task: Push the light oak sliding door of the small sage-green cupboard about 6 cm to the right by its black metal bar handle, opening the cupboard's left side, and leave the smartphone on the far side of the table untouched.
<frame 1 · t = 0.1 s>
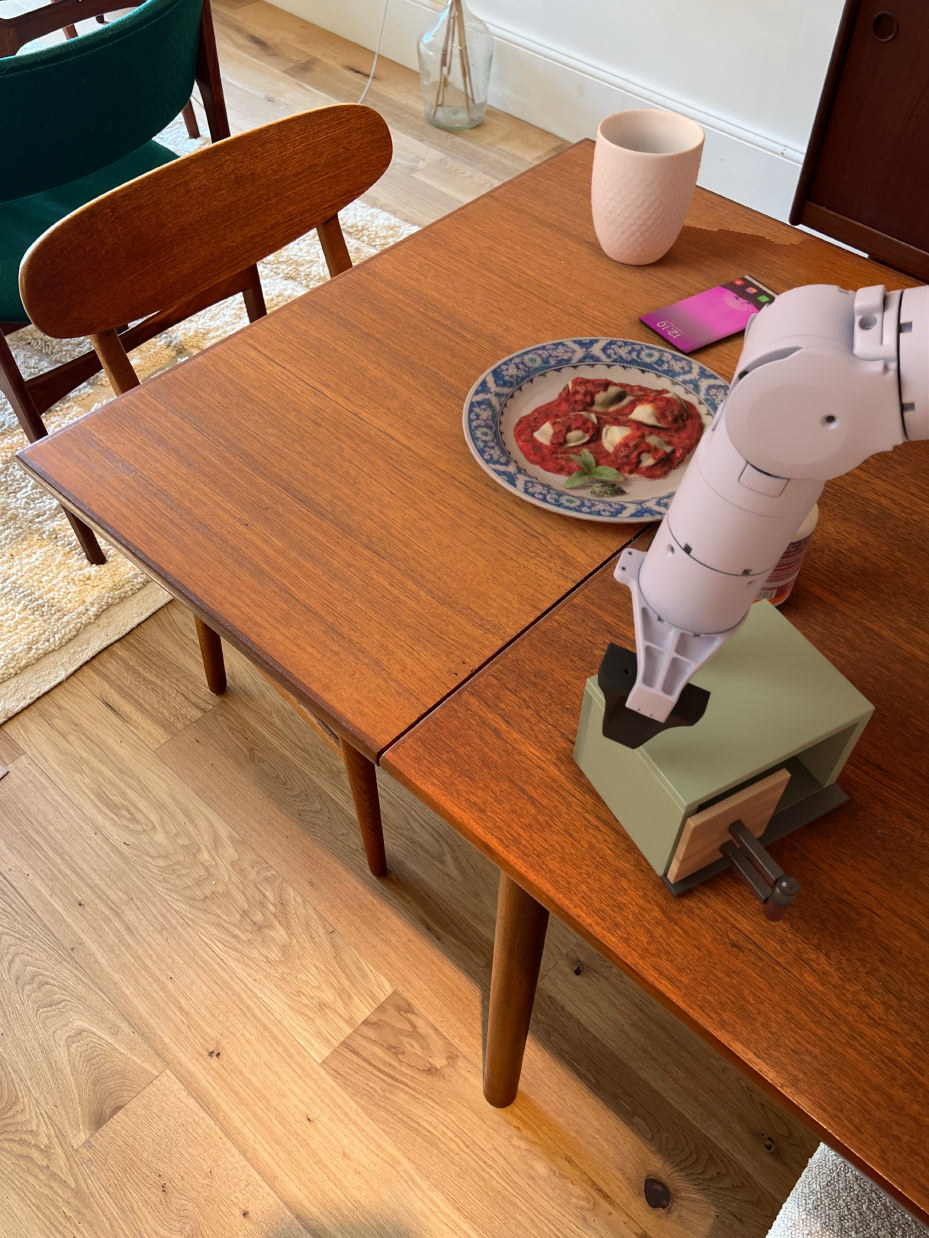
hand: (638, 687, 58), 10 cm above the table, tool pointing down, fingers open, 7 cm apart
cupboard: (701, 771, 66), on the table
ceramic plate: (605, 441, 89), on the table
pill bottle: (749, 585, 78), on the table
smartphone: (715, 319, 102), on the table
mug: (632, 247, 112), on the table
sliding door: (755, 862, 57), point 4 cm above the table, slide at 0.0 cm
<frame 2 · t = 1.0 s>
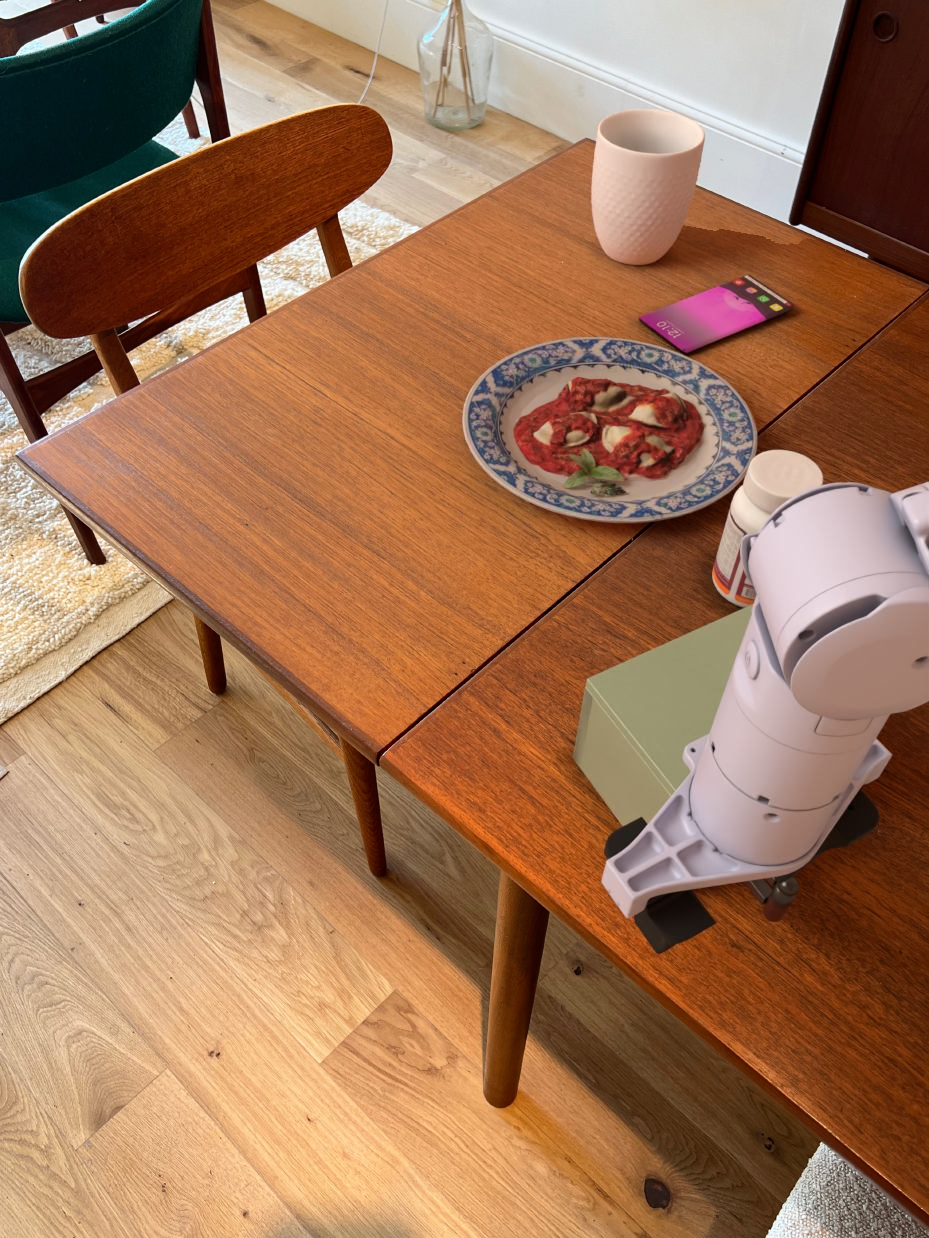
hand: (712, 898, 50), 9 cm above the table, tool pointing down, fingers open, 7 cm apart
nothing on the table moved.
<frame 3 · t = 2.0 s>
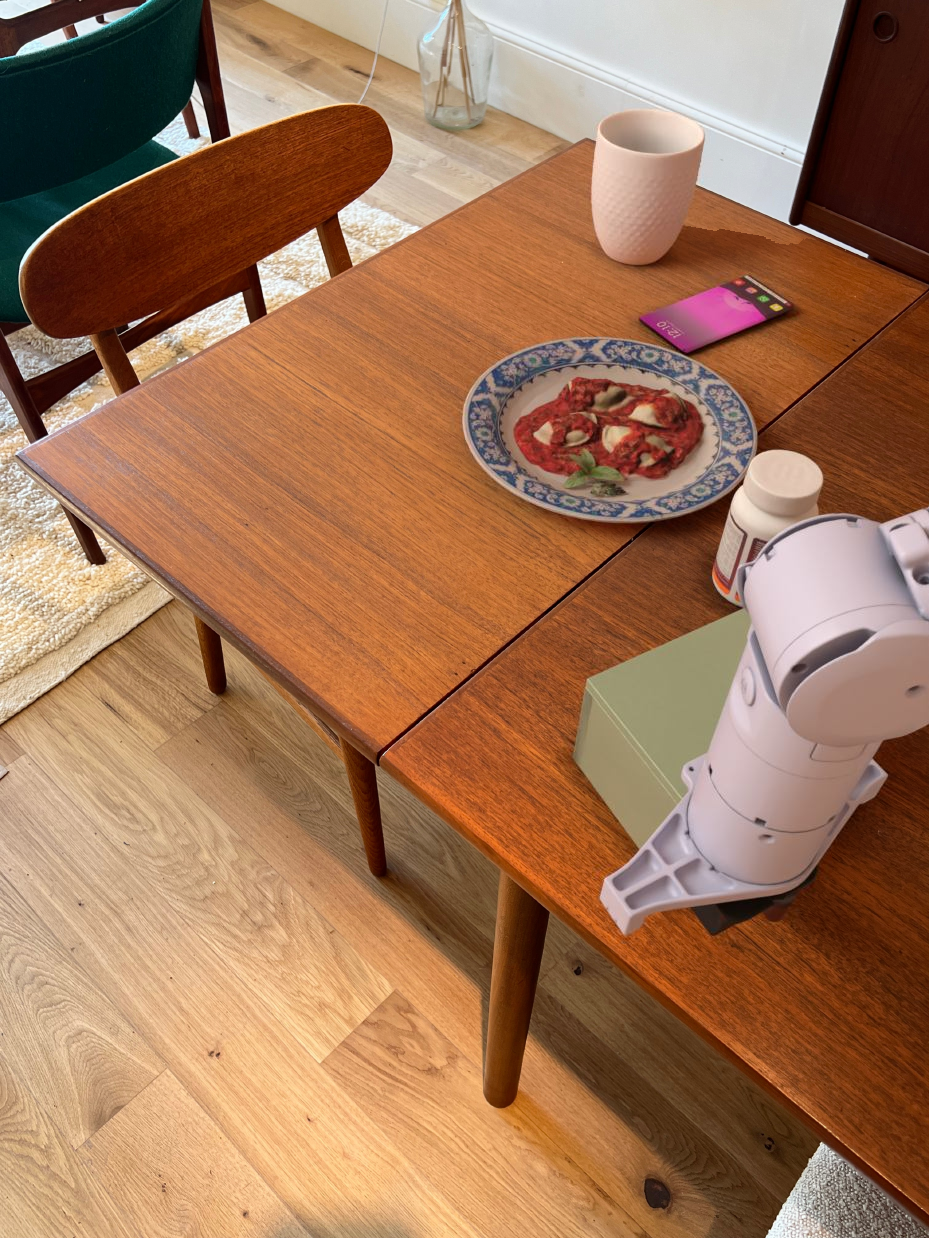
hand: (710, 914, 51), 8 cm above the table, tool pointing down, fingers closed
nothing on the table moved.
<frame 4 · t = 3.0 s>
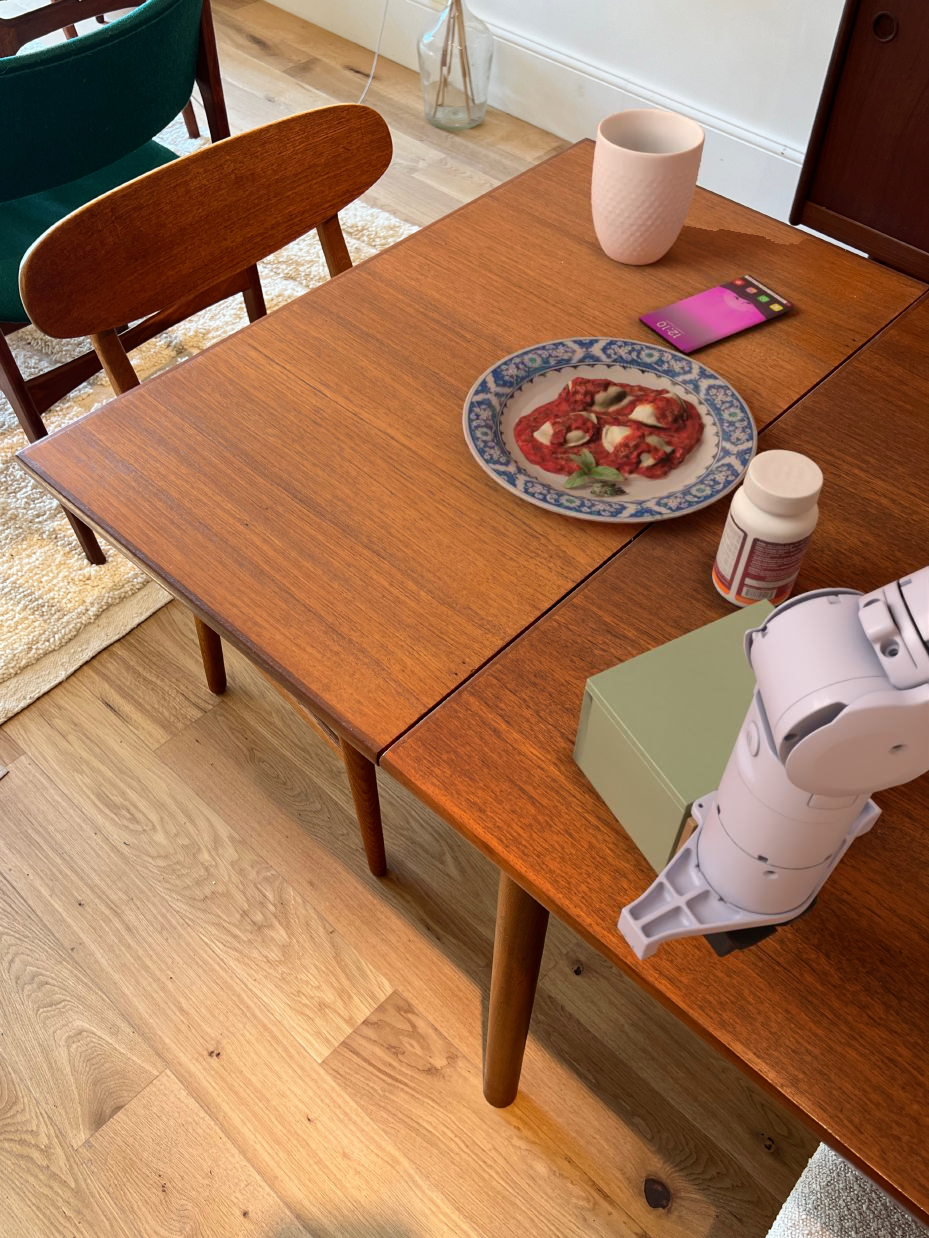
hand: (718, 936, 55), 4 cm above the table, tool pointing down, fingers closed
nothing on the table moved.
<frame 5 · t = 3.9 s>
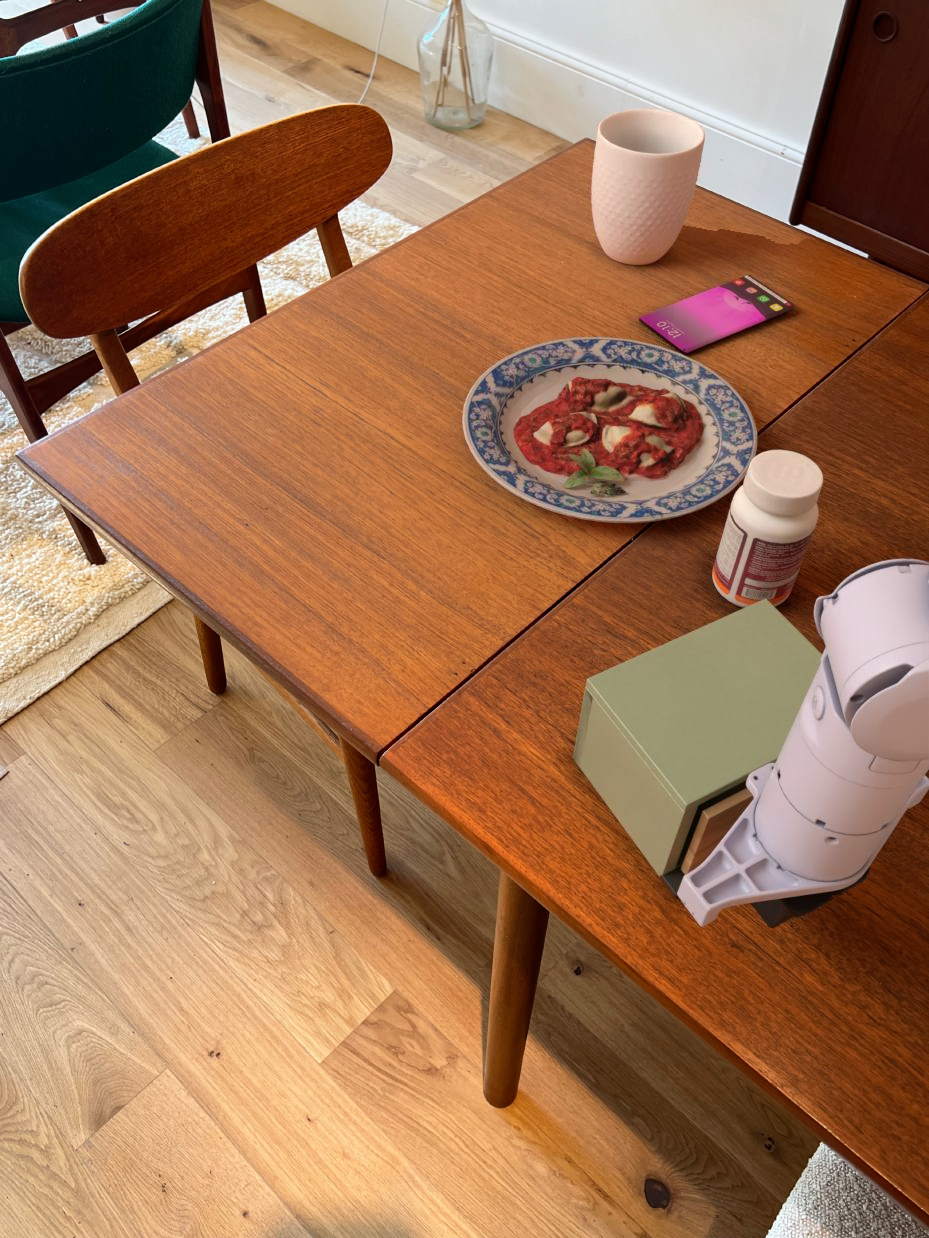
hand: (767, 908, 56), 4 cm above the table, tool pointing down, fingers closed
sliding door: (769, 854, 57), point 4 cm above the table, slide at 1.1 cm, touching gripper
everything else where it was.
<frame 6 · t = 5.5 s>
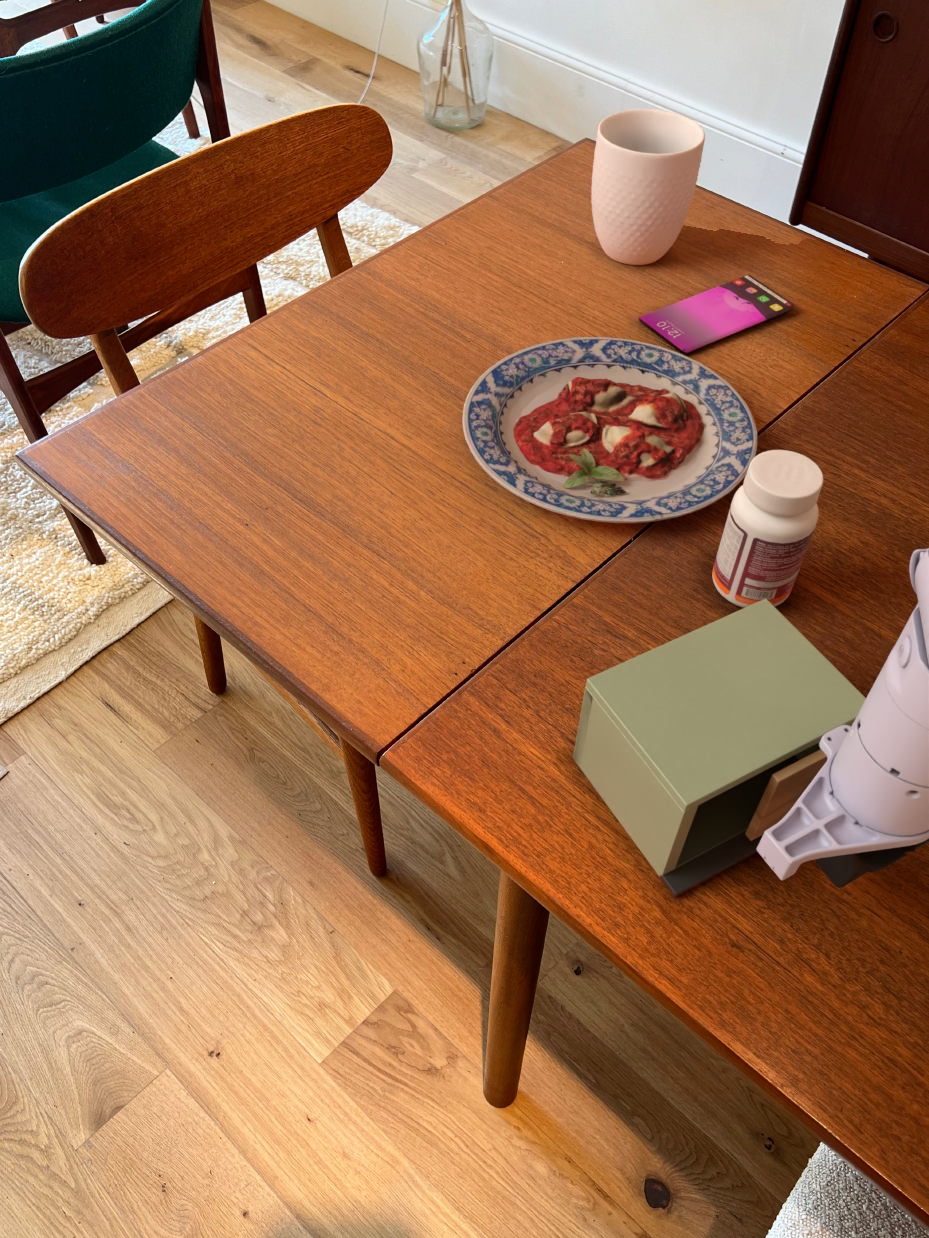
hand: (834, 869, 58), 4 cm above the table, tool pointing down, fingers closed
sliding door: (835, 818, 59), point 4 cm above the table, slide at 6.0 cm, touching gripper
everything else where it was.
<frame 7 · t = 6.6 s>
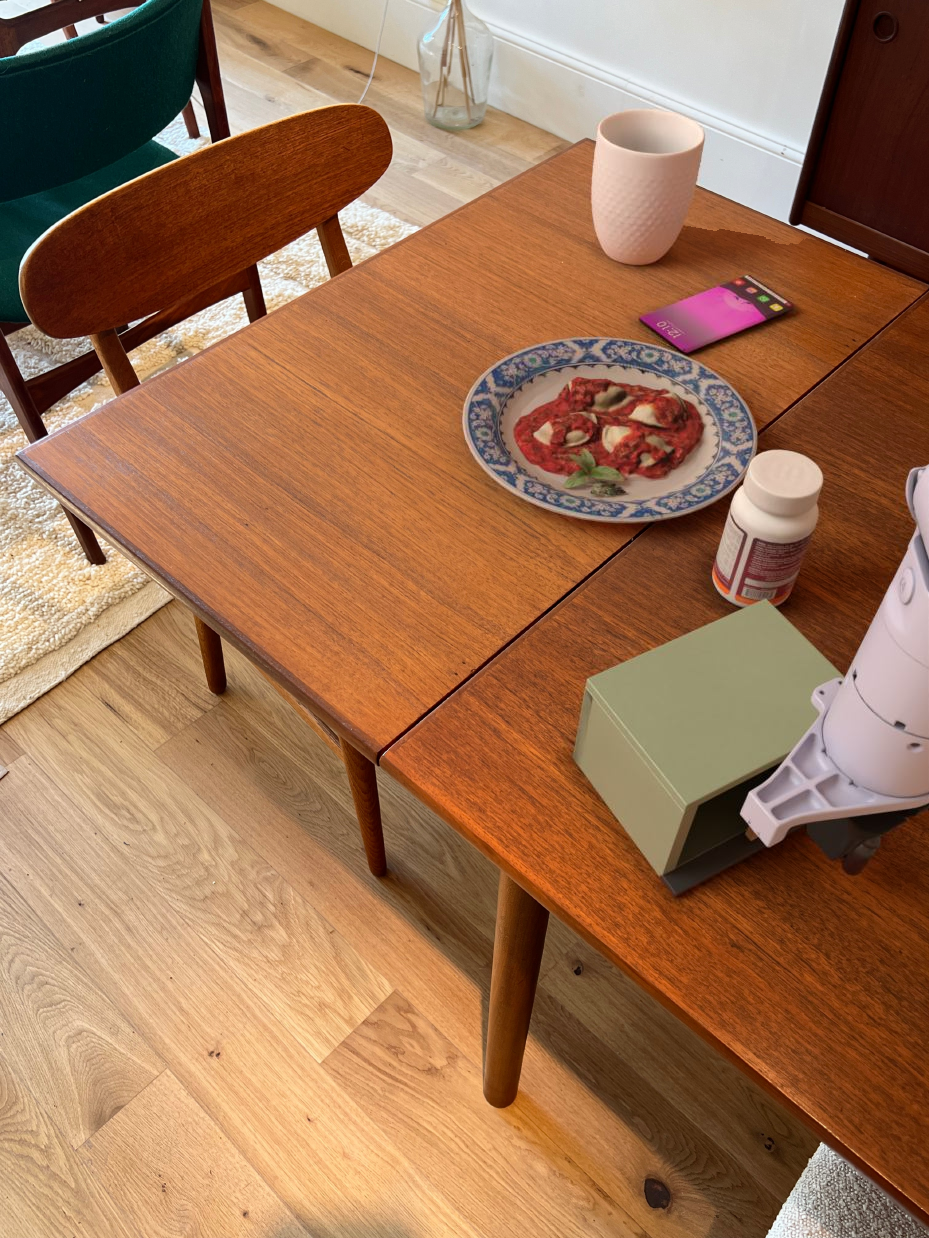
hand: (828, 840, 53), 9 cm above the table, tool pointing down, fingers closed
sliding door: (835, 818, 59), point 4 cm above the table, slide at 6.0 cm
everything else where it was.
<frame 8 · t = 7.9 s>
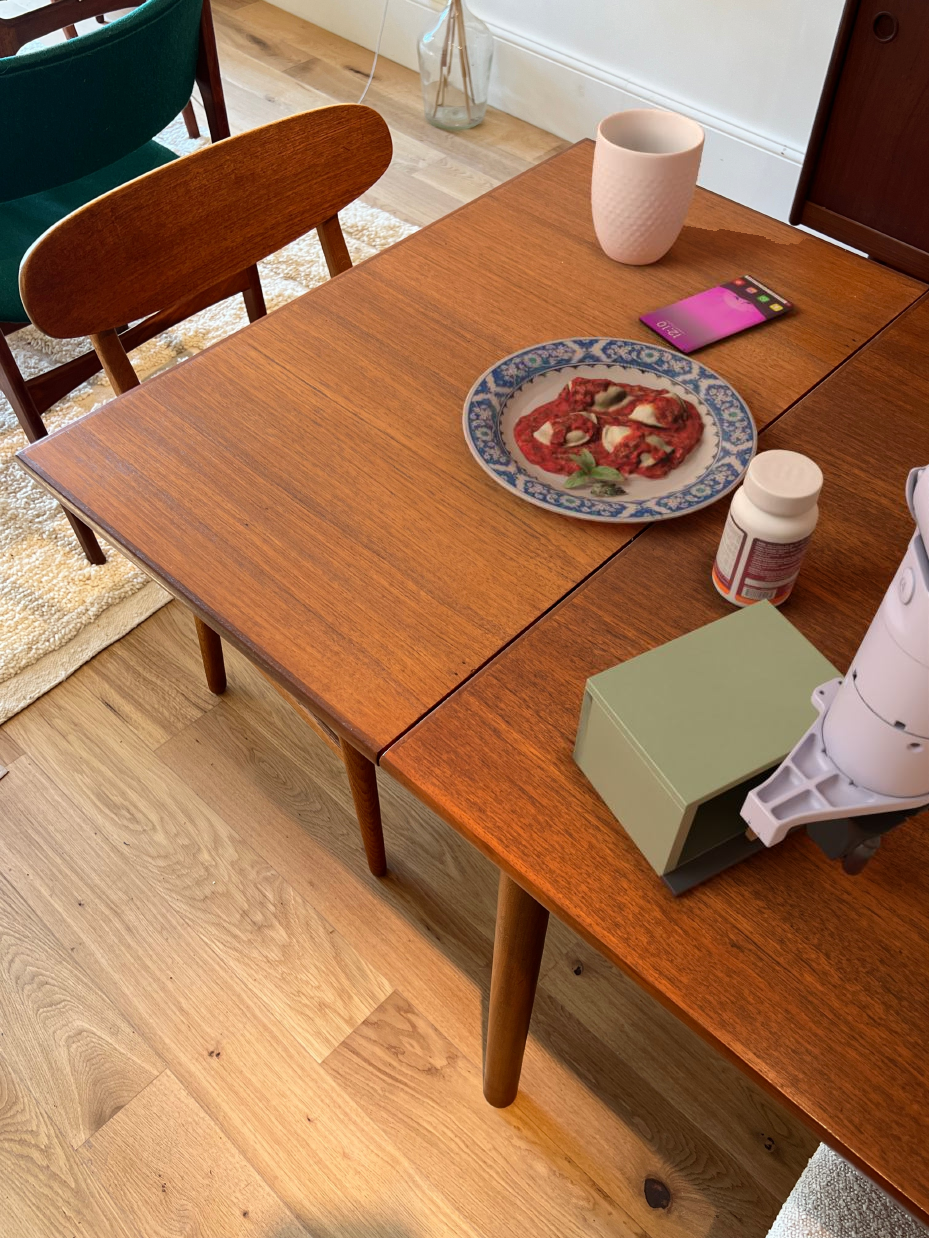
hand: (828, 840, 53), 9 cm above the table, tool pointing down, fingers closed
nothing on the table moved.
at the end: sliding door slide at 6.0 cm; smartphone moved 0.0 cm from its start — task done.
